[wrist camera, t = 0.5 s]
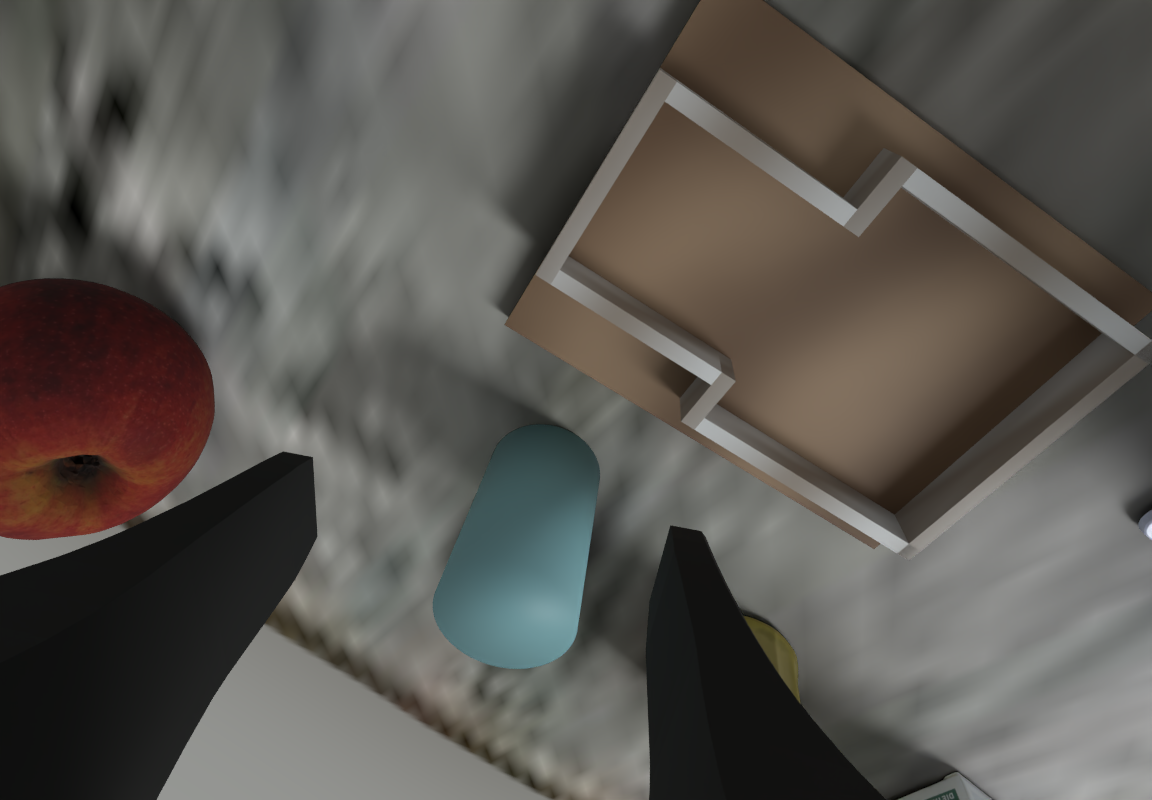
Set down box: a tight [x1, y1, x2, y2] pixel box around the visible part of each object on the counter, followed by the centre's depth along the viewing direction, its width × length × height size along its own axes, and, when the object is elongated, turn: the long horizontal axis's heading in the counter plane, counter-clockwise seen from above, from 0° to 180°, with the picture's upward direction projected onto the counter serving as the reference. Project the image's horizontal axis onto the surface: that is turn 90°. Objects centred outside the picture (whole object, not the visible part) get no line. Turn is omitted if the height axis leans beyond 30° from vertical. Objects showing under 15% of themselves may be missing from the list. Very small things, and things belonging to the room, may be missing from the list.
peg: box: [433, 424, 600, 669], centre depth 21 cm, size 4×4×7 cm
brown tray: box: [505, 0, 1152, 560], centre depth 19 cm, size 15×11×2 cm
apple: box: [0, 278, 215, 540], centre depth 20 cm, size 7×8×8 cm
